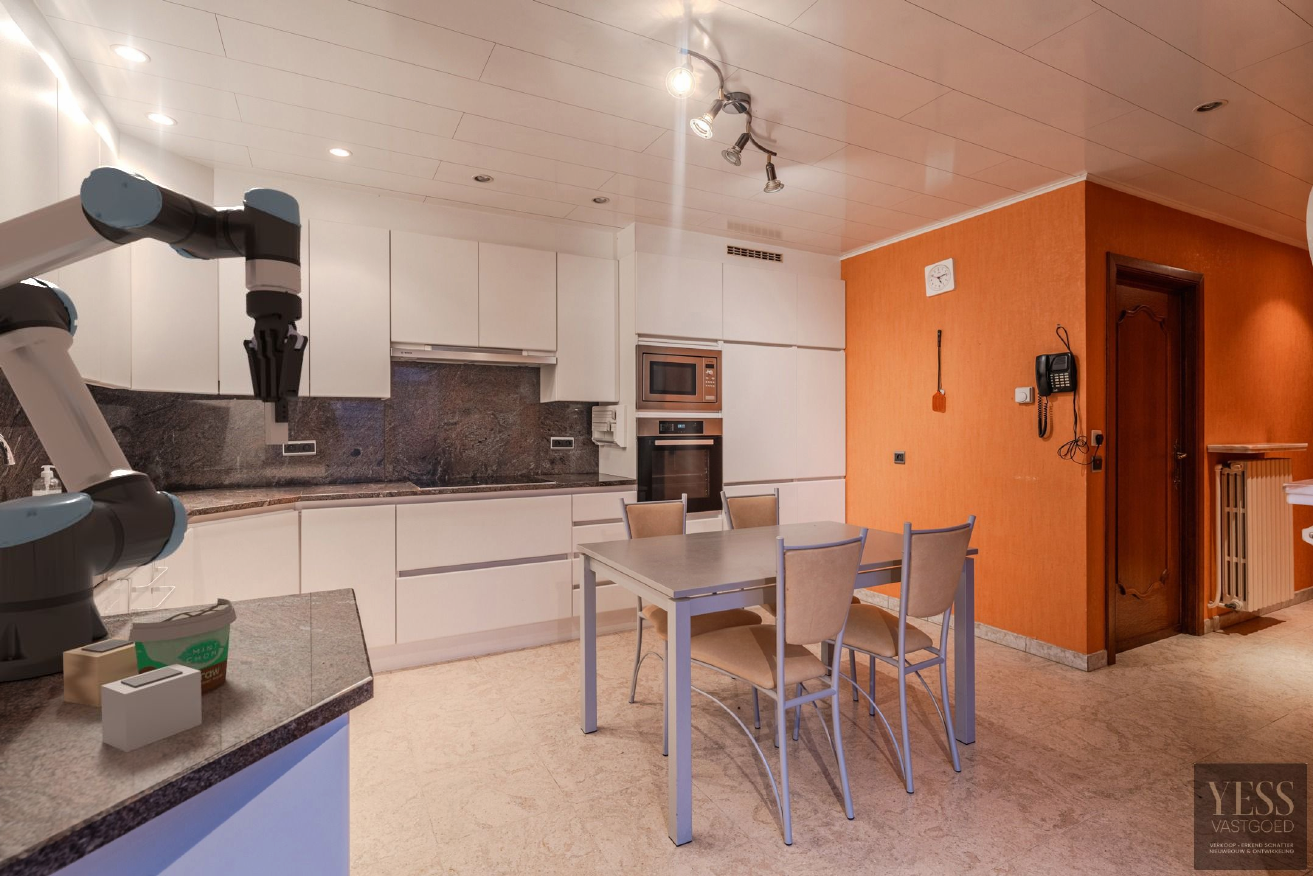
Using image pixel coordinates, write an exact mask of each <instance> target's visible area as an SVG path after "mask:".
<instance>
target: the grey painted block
mask: <svg viewBox="0 0 1313 876" xmlns="http://www.w3.org/2000/svg"><path fill="white" fill-rule="evenodd" d="M101 699H102V706H101V735H102V736H101V738H102V741H101V742H102V743H104V744H107V745H109V746H111V747H113V748H115V749H116V750H120V751H122V752H124V753H128V752H131V751H130V750H132V751H134V750H136V749H139V747H140V748H141V747H144V745H145V746H148V745H150V744H152V743H155V742H158V741H160V740H163V739H166V738H168V737H171V736H175V735H177V734H179V733H182V732H184V731H187V730H190V729H193V728H195V727H198V726H200V725H202V724H203V722H202V721H203V720H202V717H203V715H202V714H203V713H202V696H201V671H199V670H196V669H192V668H189V667H186V666H182V665H179V664H174V665H170V666H167V667H163V668H160V669H157V670H153V671H150V672H146V673H143V674H139V675H136V676H132V677H129V678H126V679H122V680H119V681H115V682H112V683H108V684H105V685H101ZM147 744H148V745H147Z"/></svg>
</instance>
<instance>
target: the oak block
mask: <svg viewBox="0 0 1313 876" xmlns="http://www.w3.org/2000/svg"><path fill="white" fill-rule="evenodd" d="M128 640H129V637H120V636H116V637H112V638H110V639H108V640H105V641H101V642H98V643H94V644H91V645H87V646H84V647H80V648H77V649H73V650H70V651H66V652H63V668H64V671H63V698H64V699H63V700H64V702H68V703H74V704H80V705H84V706H85V705H87V706H91V707H98V708H99V707H102V699H101V685H105V684H108V683H112V682H115V681H119V680H122V679H126V678H129V677H132V676H136V675H139V673H138V665H137V658H136V650H135V642H131V641H128Z"/></svg>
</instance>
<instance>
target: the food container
mask: <svg viewBox="0 0 1313 876" xmlns="http://www.w3.org/2000/svg"><path fill="white" fill-rule="evenodd" d="M237 618H238V617H237V614H236V611H235V607H234V605H233V604H232V601H231V600H229V599H227V598H226V599H225V598H221V597H220V598H217V602H216V605H212V606H209V607H208V608H203V609H200V610H193V611H187V612H185V611H184V612H180V613H177V614H175V615H173V616H171V617H169V618H166V619H165V620H162V621H158V622H157V621H156V622H132V626H131V627H132V628H130V630H129V636H128V638H129V640H128V641H131V642H135V650H136V658H137V665H138V673H139V674H143V673H146V672H150V671H153V670H157V669H160V668H163V667H167V666H170V665H174V664H179V665H182V666H186V667H189V668H192V669H196V670H199V671H201V697H202V696H204V695H207V694H209V693H212V692H214V691H216V690H218V689H220V688H221V687H222V686H223V685H224V684H225V683H226V681H227V670H228V669H227V668H228V657H229V644H230V633H231V624H232V623H234V622H235V621H236V620H237Z"/></svg>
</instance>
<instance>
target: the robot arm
mask: <svg viewBox="0 0 1313 876" xmlns="http://www.w3.org/2000/svg"><path fill="white" fill-rule="evenodd" d="M79 189H80V191H79V194H77V195H74V196H72V197H69V198H66V199H63V200H60V201H58V202H55V203H52V204H50V205H47V206H44V207H42V208H39V209H35V210H33V211H30V212H27V213H25V214H22V215H19V216H17V217H14V218H11V219H8V220H5V221H3V222H0V369H1V370H2V372H3V374H4V376H5V378H6V379H7V381H8V383H9V385H10V387H11V388H12V390H13V392H14V394H15V396H16V398H17V399H18V402H19V404H20V405H21V407H22V410H23V412H24V413H25V414H26V416H27V418H28V420H29V422H30V425H31V427H32V428H33V429H34V432H35V433H36V435H37V437H38V438H39V440H40V443H41V444H42V446H43V448H44V450H45V452H46V454H47V455H48V457H49V459H50V461H51V463H52V465H53V467H54V469H55V470H56V472H57V474H58V476H59V478H60V480H61V482H62V483H63V486H64V487H65V489H66V491H67V492H58V493H56V492H55V493H50V494H49V493H48V494H43V495H32V496H25V497H20V498H15V499H10V500H6V501H2V502H0V683H1V682H11V681H18V680H26V679H32V678H37V677H41V676H46V675H51V674H55V673H60V672H64V668H63V652H66V651H70V650H73V649H77V648H80V647H84V646H87V645H91V644H94V643H98V642H101V641H105V640H108V639H111V635H110V632H109V630H108V627H107V625H106V624H105V622H104V620H103V617H102V616H101V614H100V611H99V608H98V606H97V605H96V603H95V597H94V577H97V576H100V575H105V574H109V573H115V572H119V571H124V570H127V569H132V568H137V567H138V568H139V567H144V566H148V565H150V564H152V563H153V562H154V563H155V562H158V561H162V560H164V559H167V558H169V556H171V555H173V554H174V553H175V552H176V551H177V550H178V549H179V548H180V546H181V545H182V543H183V541H184V540H185V533H187V531H188V522H189V521H188V519H189V518H188V514H187V510H186V507H185V505H184V504H183V502H182V501H181V499H180V498H178V497H177V496H176V495H174V494H170V493H168V492H167V491H163V490H161V491H157V490H156V488H155V486H154V483H153V482H152V481H151V478H150V477H149V475H148V474H147V473H144V472H139V471H137V470H133V469H132V466H130V463H129V461H128V460H127V457H126V456H125V454H124V452H123V450H122V449H121V447H120V445H119V443H118V441H117V440H116V437H115V436H114V434H113V432H112V430H111V428H110V427H109V425H108V423H107V421H106V419H105V418H104V415H103V413H102V412H101V410H100V408H99V406H98V405H97V403H96V400H95V399H94V396H93V395H92V393H91V391H90V389H89V388H88V386H87V384H86V382H85V381H84V379H83V377H82V375H81V373H80V371H79V370H78V368H77V366H76V364H75V362H74V360H73V358H72V356H71V355H70V353H69V350H70V348H71V347H72V345H74V344H73V343H74V338H73V337H74V336H75V334H76V331H77V329H78V324H76V323H75V321H77V320H78V319H79V317H78V313H77V312H78V311H77V308H76V306H75V304H74V302H73V300H72V299H71V298H70V296H69V295H68V294H67V293H66V292H65V291H64V290H63V289H62V288H60V287H59V286H57V285H56V284H54V283H51V282H49V281H46V280H43V279H39V278H37V277H38V276H41V275H44V274H47V273H49V272H50V273H51V272H53V271H55V270H58V269H61V268H63V267H67V266H69V265H72V264H75V263H79V262H81V261H83V260H86V259H89V258H92V257H94V256H98V255H100V254H103V253H106V252H109V251H112V250H114V249H117V248H119V247H123V246H125V245H128V244H131V243H136V242H137V241H140V240H144V239H152V240H155V241H159V242H162V243H164V244H165V243H166V244H168V245H169V247H170V248H171V249H173V250H174V251H175V252H176V254H177V255H178V256H180V257H183V258H186V259H189V260H202V261H209V260H216V259H234V258H237V259H238V258H245V262H244V263H245V264H244V267H245V268H244V269H245V272H244V273H245V277H244V279H245V283H244V285H245V288H246V289H247V290H248V292H247V293H246V294H245V313H246V316H247V317H250V318H252V319H253V321H254V327H253V332H252V333H253V336H252V338H251V339H244V340H243V341H242V345H243V347H244V349H245V352H246V354H247V355H246V356H247V360H248V366H249V367H248V368H249V373H250V378H251V384H252V385H251V386H252V391H253V397H254V398H255V399H260V400H261V402H262V403H264V404H263V405H264V407H263V409H264V411H263V412H264V432H265V435H264V436H265V439H264V440H265V444H264V445H266V446H267V445H273V446H274V445H289V403H291V401H292V399H294V398H295V399H297V398H298V397H299V394H300V393H299V392H300V384H301V379H302V378H301V377H302V370H303V364H304V363H303V362H304V355H305V350H306V347H307V345H308V342H309V338H308V337H309V336H307V335H302V334H300V333H299V332H298V327H297V324H296V322H299V321H301V319H302V318H303V301H302V300H303V299H302V298H301V296H300V293H302V276H301V275H302V272H301V270H302V267H301V265H302V264H301V263H302V262H301V241H302V240H301V236H302V232H301V231H302V224H301V215H300V204H299V202H298V201H297V199H296V197H294V196H292V195H291V194H288V193H287V192H285V191H281V190H277V189H274V188H273V189H272V188H266V187H253V188H250V189H248V190H246V191H245V192H244V195H243V201H242V204H243V205H241V206H235V207H234V206H233V207H214V206H210V205H209V204H207V203H204V202H201V201H200V200H197V199H194V198H193V197H190V196H188V195H186V194H183V193H180V192H178V191H176V190H174V189H171V188H169V187H166V186H165V185H163V184H159V183H158V182H155V181H153V180H150V179H149V178H147V177H145V176H143V175H141V174H139V173H137V172H131V171H128V170H125V169H122V168H119V167H116V166H113V165H112V166H110V165H109V166H108V165H105V166H104V165H103V166H99V167H97V168H95V169H93V170H91V171H90V174H89V176H88V177H85V178H83V180H82V182H81V185H80V188H79Z"/></svg>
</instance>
